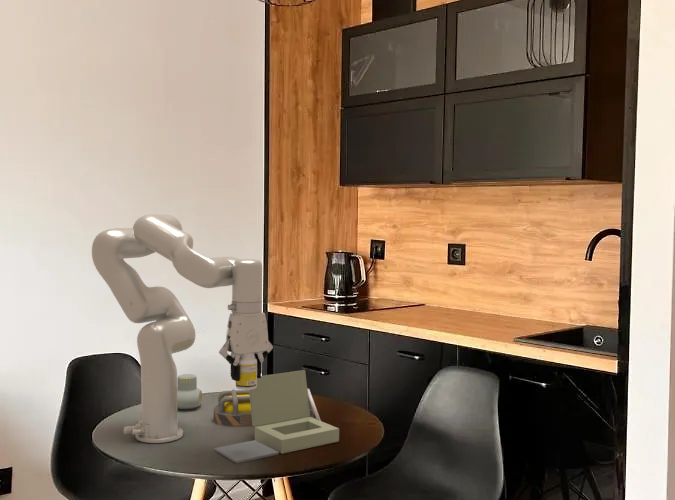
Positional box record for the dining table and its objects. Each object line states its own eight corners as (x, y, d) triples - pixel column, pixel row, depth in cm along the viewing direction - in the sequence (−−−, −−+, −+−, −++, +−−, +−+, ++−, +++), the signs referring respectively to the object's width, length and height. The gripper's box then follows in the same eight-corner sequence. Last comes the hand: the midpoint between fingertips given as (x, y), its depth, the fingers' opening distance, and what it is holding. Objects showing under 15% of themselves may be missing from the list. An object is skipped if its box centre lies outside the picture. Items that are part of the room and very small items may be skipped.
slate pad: (236, 463, 180) (236, 461, 180) (214, 450, 190) (214, 448, 190) (278, 454, 187) (278, 452, 187) (255, 442, 197) (255, 440, 197)
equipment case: (281, 453, 188) (282, 390, 187) (247, 436, 202) (247, 377, 201) (342, 440, 199) (342, 380, 198) (305, 424, 213) (306, 368, 213)
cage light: (213, 388, 224) (310, 385, 230) (213, 414, 225) (310, 410, 230) (214, 400, 210) (318, 396, 216) (214, 428, 210) (318, 423, 216)
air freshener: (197, 412, 226) (197, 379, 226) (170, 412, 226) (170, 379, 226) (202, 402, 237) (202, 372, 237) (176, 402, 237) (176, 372, 237)
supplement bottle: (238, 384, 191) (239, 347, 190) (259, 385, 190) (259, 348, 190) (232, 389, 186) (233, 351, 185) (253, 390, 185) (254, 352, 184)
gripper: (223, 312, 179) (222, 386, 180) (283, 307, 189) (282, 377, 190) (209, 308, 185) (209, 380, 186) (268, 304, 195) (267, 372, 196)
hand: (246, 378), depth 188 cm, fingers closed on supplement bottle, 5 cm apart
